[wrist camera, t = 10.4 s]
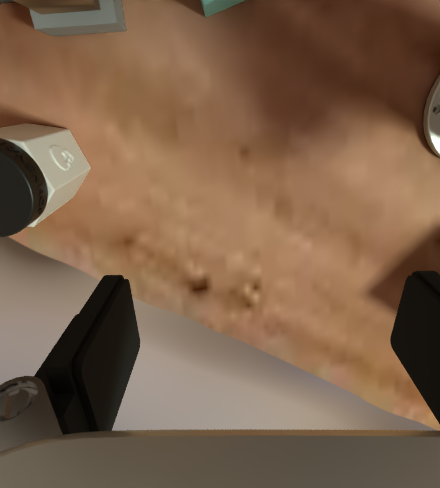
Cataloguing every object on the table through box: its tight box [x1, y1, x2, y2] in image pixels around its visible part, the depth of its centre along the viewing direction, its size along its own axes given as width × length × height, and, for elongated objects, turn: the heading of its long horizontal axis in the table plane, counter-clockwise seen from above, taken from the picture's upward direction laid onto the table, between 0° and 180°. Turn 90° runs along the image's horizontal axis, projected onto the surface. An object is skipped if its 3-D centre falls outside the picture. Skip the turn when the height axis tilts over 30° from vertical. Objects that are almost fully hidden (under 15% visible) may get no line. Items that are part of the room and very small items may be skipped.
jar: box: [0, 123, 91, 237], centre depth 31 cm, size 9×8×12 cm
